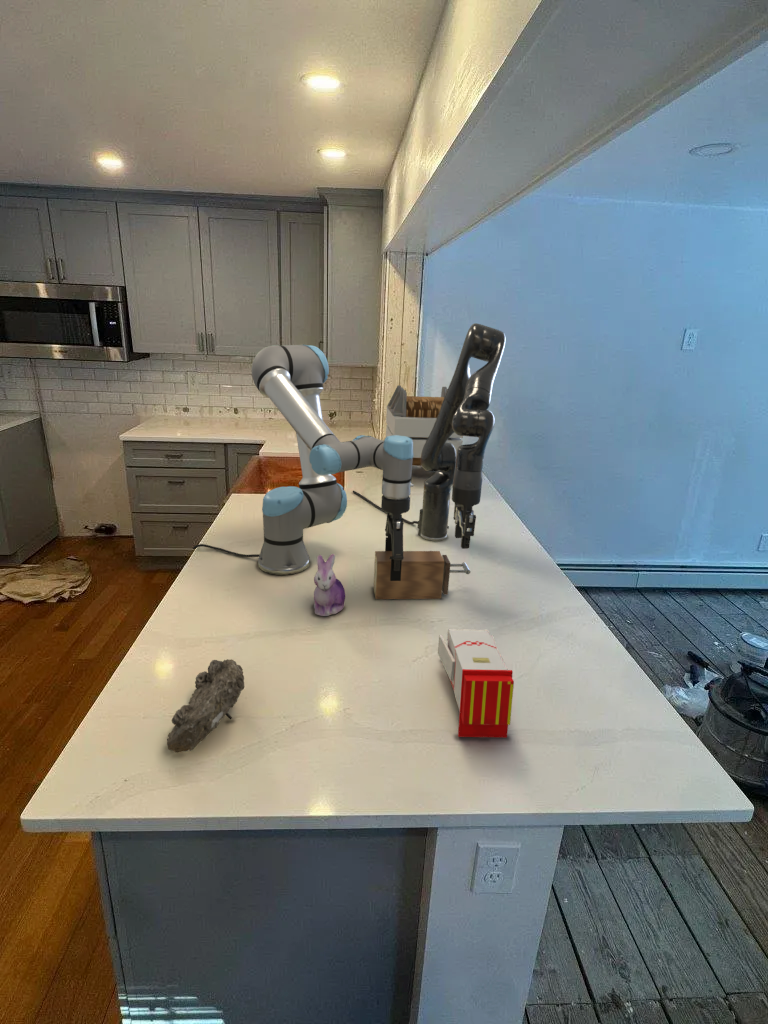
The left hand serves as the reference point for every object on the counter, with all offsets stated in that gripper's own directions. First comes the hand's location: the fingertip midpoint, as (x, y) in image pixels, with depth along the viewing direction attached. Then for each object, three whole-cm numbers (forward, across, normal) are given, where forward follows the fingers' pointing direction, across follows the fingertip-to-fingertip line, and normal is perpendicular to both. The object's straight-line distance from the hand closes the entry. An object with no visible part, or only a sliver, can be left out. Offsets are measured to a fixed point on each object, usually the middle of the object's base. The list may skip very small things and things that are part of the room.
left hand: (392, 569), depth 156 cm
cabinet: (+7, 0, -4) cm, 9 cm away
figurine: (+7, -8, +17) cm, 21 cm away
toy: (+7, -44, -12) cm, 46 cm away
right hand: (-8, 0, -19) cm, 20 cm away
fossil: (+7, -49, +40) cm, 63 cm away
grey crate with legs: (+7, +122, -28) cm, 125 cm away
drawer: (+6, 0, -10) cm, 12 cm away
